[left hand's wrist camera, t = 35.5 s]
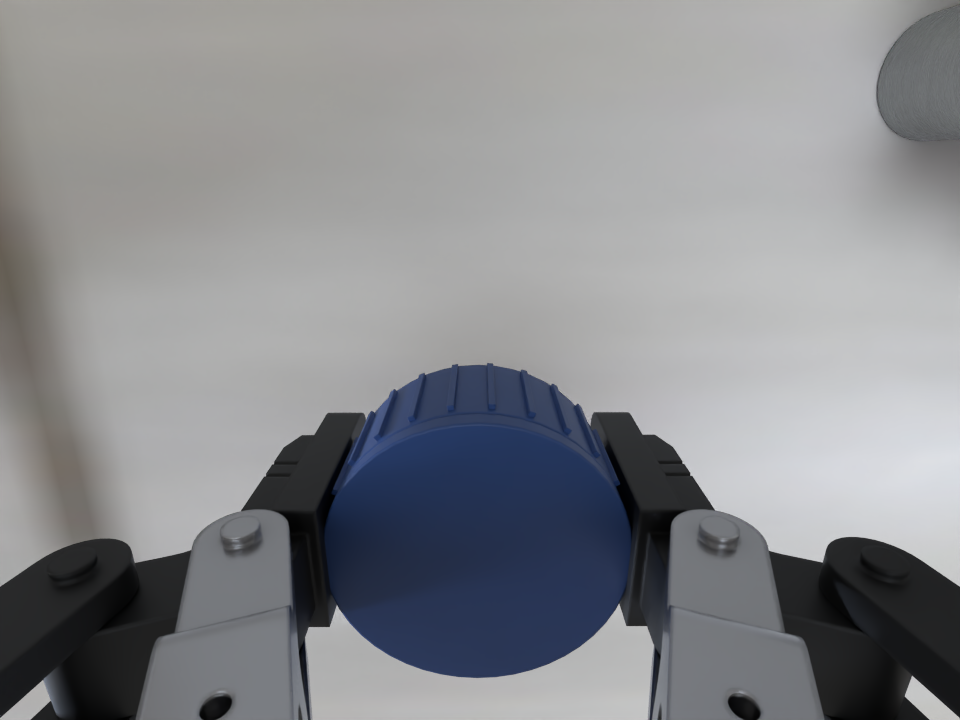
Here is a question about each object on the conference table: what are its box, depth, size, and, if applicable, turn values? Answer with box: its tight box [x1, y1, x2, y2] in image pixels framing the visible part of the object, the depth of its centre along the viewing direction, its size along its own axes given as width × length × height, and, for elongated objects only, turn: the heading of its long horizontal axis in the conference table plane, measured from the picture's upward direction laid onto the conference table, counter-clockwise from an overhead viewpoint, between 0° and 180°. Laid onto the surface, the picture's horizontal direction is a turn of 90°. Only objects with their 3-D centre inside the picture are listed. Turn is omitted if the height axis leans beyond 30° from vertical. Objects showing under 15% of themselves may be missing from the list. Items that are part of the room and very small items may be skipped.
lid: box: [324, 363, 632, 678], centre depth 10 cm, size 5×5×2 cm
